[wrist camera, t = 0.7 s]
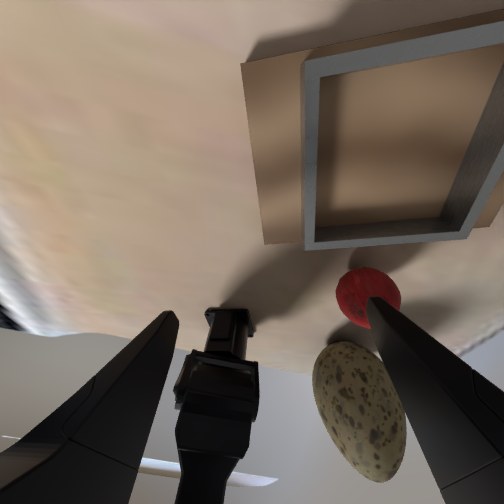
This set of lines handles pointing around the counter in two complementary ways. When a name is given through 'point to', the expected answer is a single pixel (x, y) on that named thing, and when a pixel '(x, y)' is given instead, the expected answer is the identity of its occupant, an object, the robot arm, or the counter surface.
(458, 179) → the square metal frame
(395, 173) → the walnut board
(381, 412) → the decorative egg
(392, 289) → the onion
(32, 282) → the counter surface
